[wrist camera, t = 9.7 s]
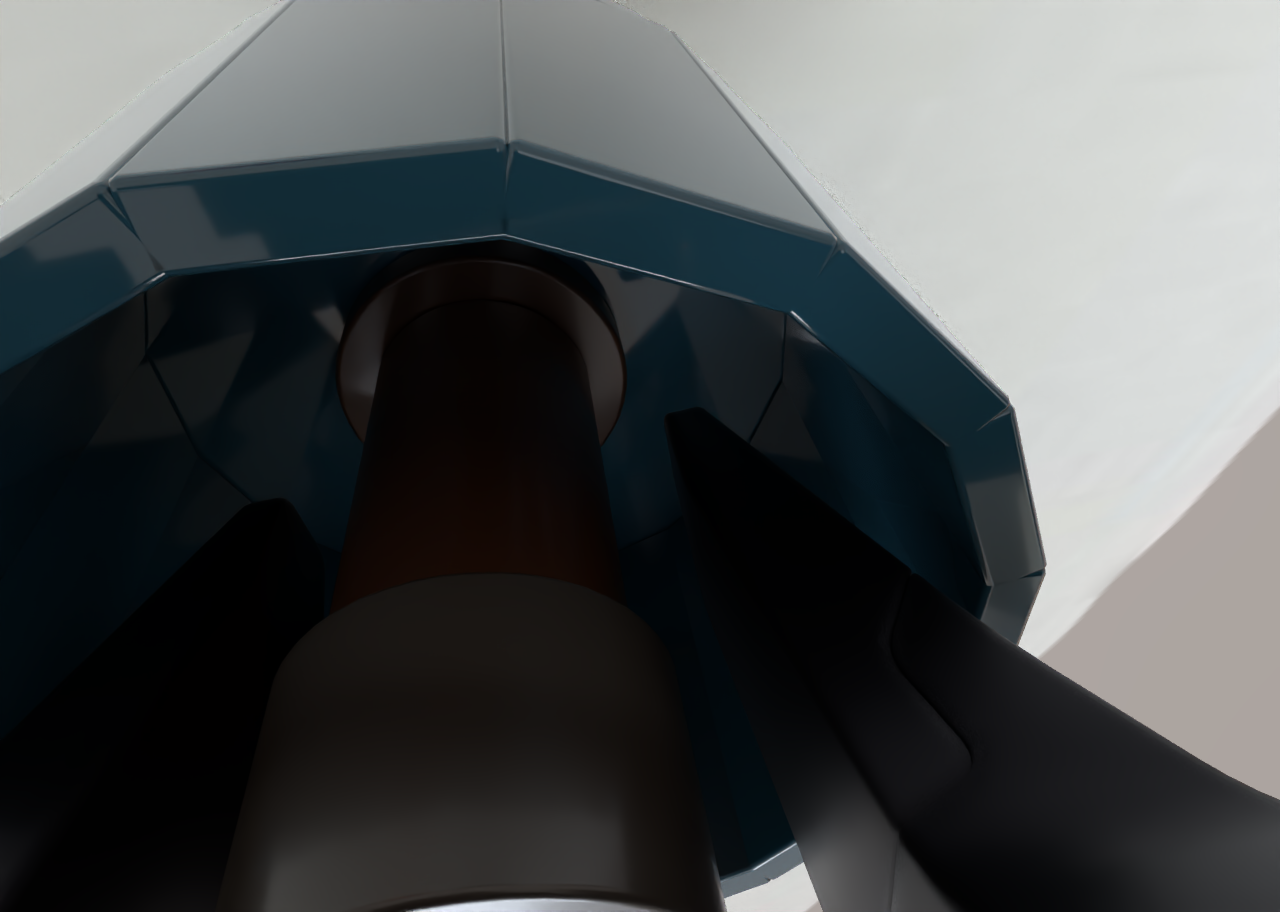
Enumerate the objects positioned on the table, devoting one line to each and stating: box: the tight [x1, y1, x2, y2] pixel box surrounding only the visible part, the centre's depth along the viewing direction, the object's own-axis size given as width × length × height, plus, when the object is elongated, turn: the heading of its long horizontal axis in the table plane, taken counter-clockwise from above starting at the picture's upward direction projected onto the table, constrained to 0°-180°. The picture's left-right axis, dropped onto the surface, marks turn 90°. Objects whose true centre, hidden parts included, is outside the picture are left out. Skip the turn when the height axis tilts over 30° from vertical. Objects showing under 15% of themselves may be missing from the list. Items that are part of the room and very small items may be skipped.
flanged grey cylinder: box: [215, 240, 727, 912], centre depth 8 cm, size 4×4×7 cm
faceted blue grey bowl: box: [0, 0, 1046, 898], centre depth 9 cm, size 9×9×6 cm
